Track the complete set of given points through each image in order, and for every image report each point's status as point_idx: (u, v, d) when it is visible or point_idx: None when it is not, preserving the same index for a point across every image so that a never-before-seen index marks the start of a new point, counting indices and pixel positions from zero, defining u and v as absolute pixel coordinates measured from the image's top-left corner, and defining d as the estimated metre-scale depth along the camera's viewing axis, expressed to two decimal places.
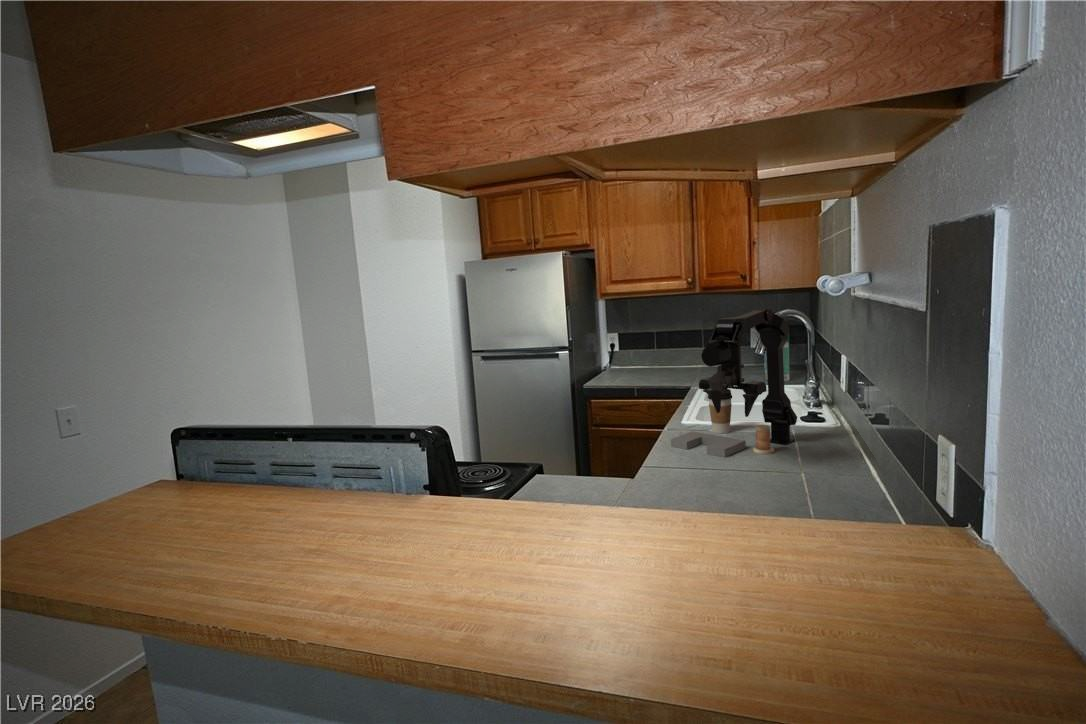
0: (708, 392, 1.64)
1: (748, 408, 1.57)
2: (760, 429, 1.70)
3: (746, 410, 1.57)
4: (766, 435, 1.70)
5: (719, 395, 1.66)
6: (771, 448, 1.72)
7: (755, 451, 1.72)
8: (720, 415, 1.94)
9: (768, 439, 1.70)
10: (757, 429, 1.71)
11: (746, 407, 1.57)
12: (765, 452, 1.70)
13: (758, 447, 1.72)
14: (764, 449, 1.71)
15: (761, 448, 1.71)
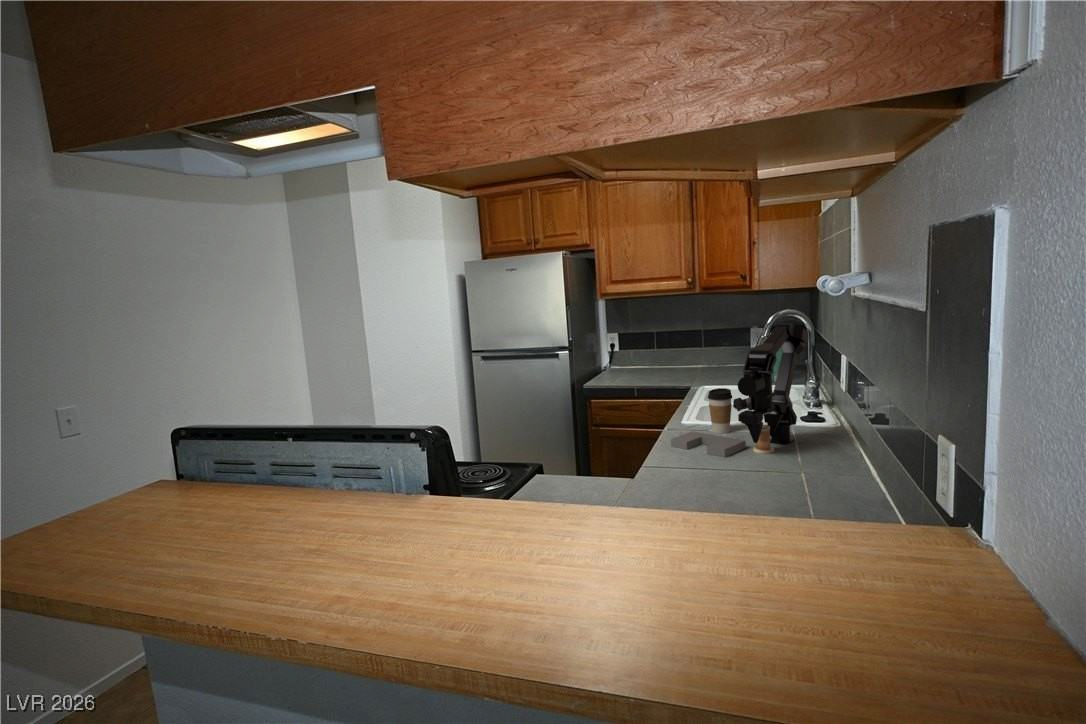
0: None
1: (752, 434, 1.69)
2: None
3: None
4: (766, 435, 1.70)
5: (774, 421, 1.74)
6: (771, 448, 1.72)
7: (755, 451, 1.72)
8: (720, 415, 1.94)
9: (768, 439, 1.70)
10: None
11: None
12: (765, 452, 1.70)
13: (758, 447, 1.72)
14: (764, 449, 1.71)
15: (761, 448, 1.71)
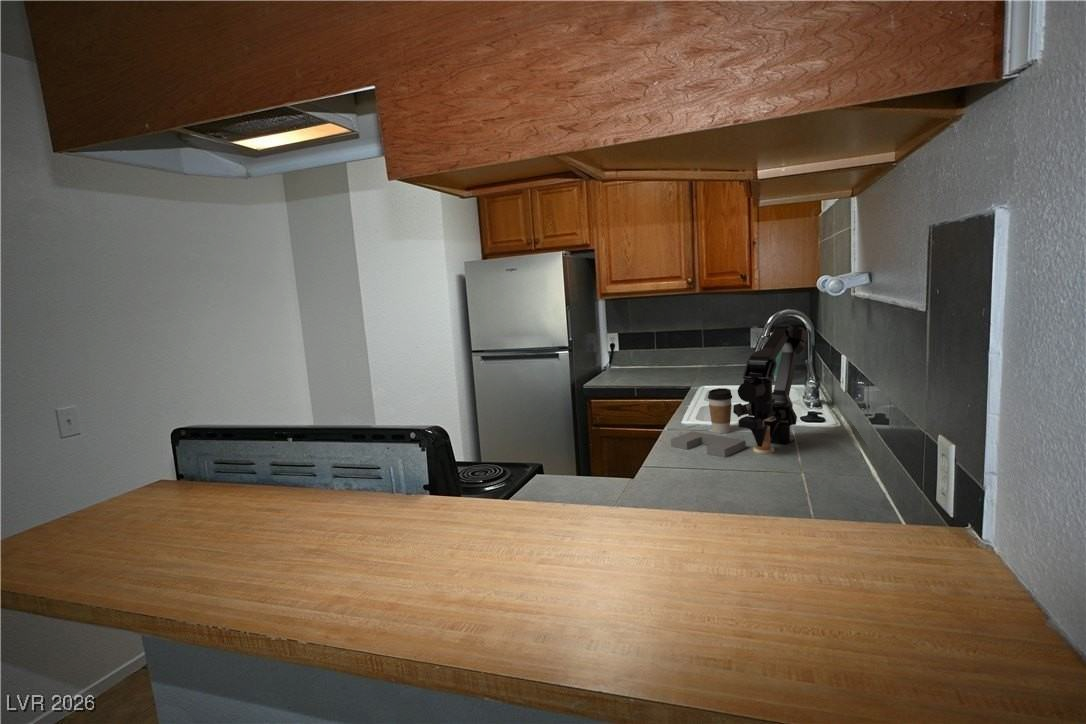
0: None
1: (756, 438, 1.71)
2: None
3: None
4: (766, 435, 1.70)
5: (771, 428, 1.72)
6: (771, 448, 1.72)
7: (755, 451, 1.72)
8: (720, 415, 1.94)
9: (768, 439, 1.70)
10: None
11: None
12: (765, 452, 1.70)
13: (758, 447, 1.72)
14: (764, 449, 1.71)
15: (761, 448, 1.71)
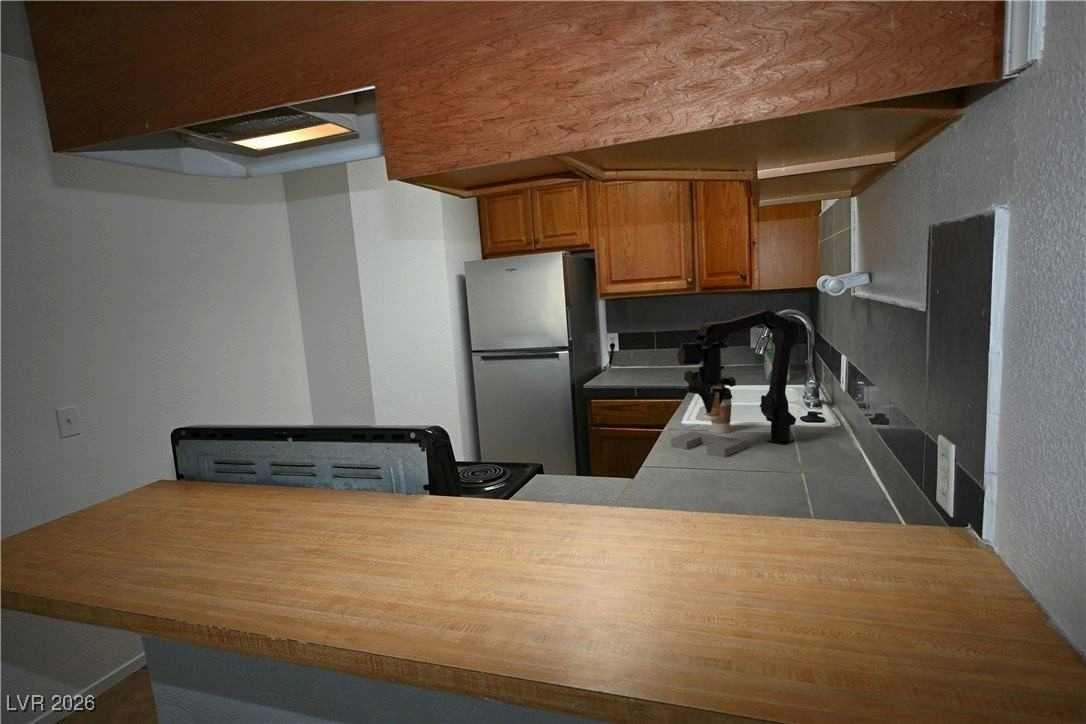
0: None
1: (705, 405, 1.75)
2: None
3: None
4: (715, 402, 1.74)
5: (720, 395, 1.77)
6: (720, 414, 1.76)
7: (704, 417, 1.76)
8: None
9: (717, 405, 1.75)
10: None
11: None
12: (713, 417, 1.74)
13: (707, 413, 1.76)
14: (713, 415, 1.75)
15: (710, 414, 1.75)
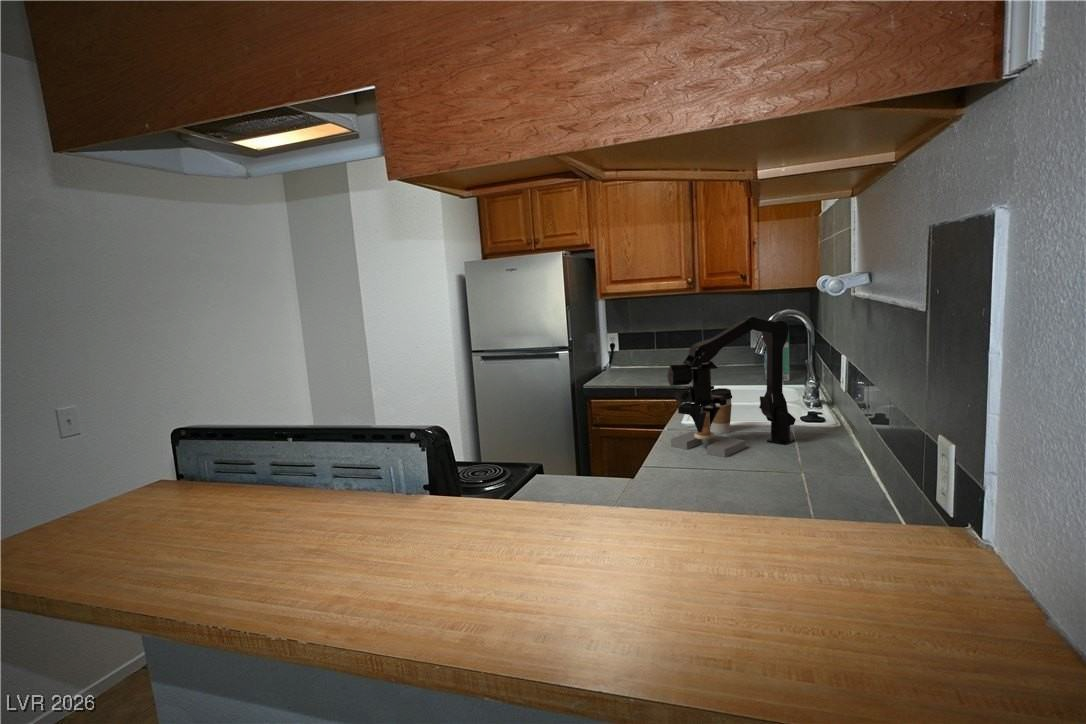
0: None
1: (696, 424, 1.77)
2: None
3: None
4: (705, 421, 1.77)
5: (711, 414, 1.79)
6: (711, 433, 1.78)
7: (696, 436, 1.78)
8: (720, 415, 1.94)
9: (708, 425, 1.77)
10: None
11: None
12: (704, 437, 1.76)
13: (698, 432, 1.78)
14: (704, 434, 1.77)
15: (701, 433, 1.78)
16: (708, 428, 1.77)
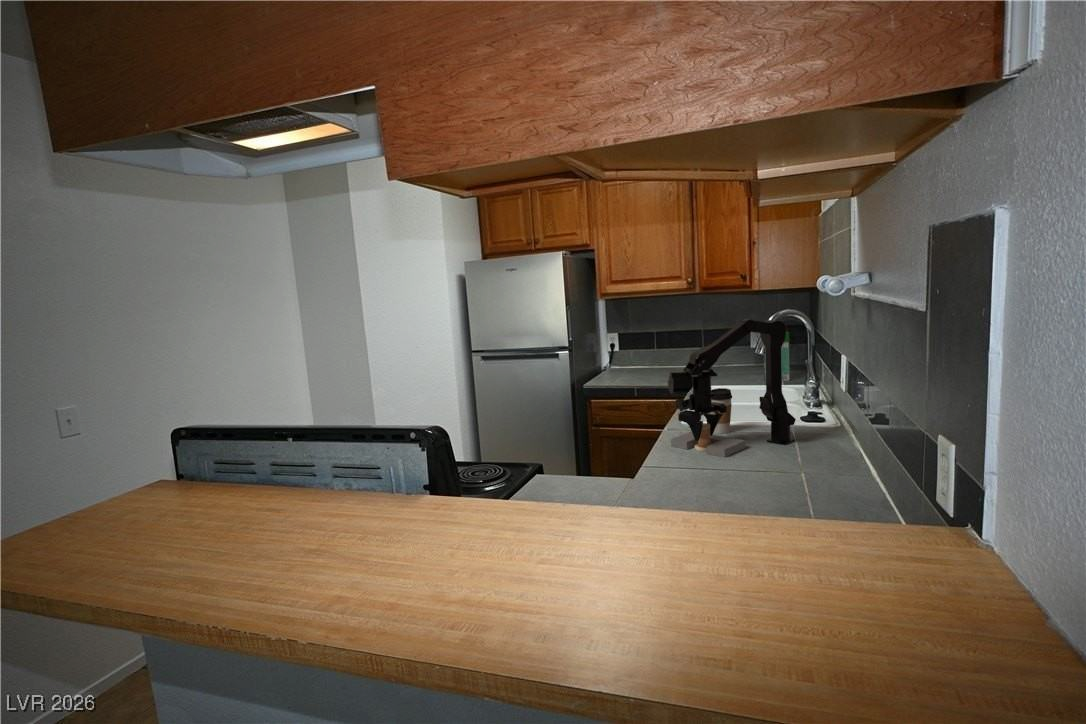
0: None
1: (693, 433, 1.77)
2: None
3: None
4: (706, 433, 1.77)
5: (713, 421, 1.80)
6: None
7: (696, 448, 1.79)
8: None
9: (708, 437, 1.78)
10: None
11: None
12: (704, 449, 1.77)
13: (699, 444, 1.79)
14: (704, 446, 1.78)
15: (701, 445, 1.78)
16: (708, 440, 1.78)
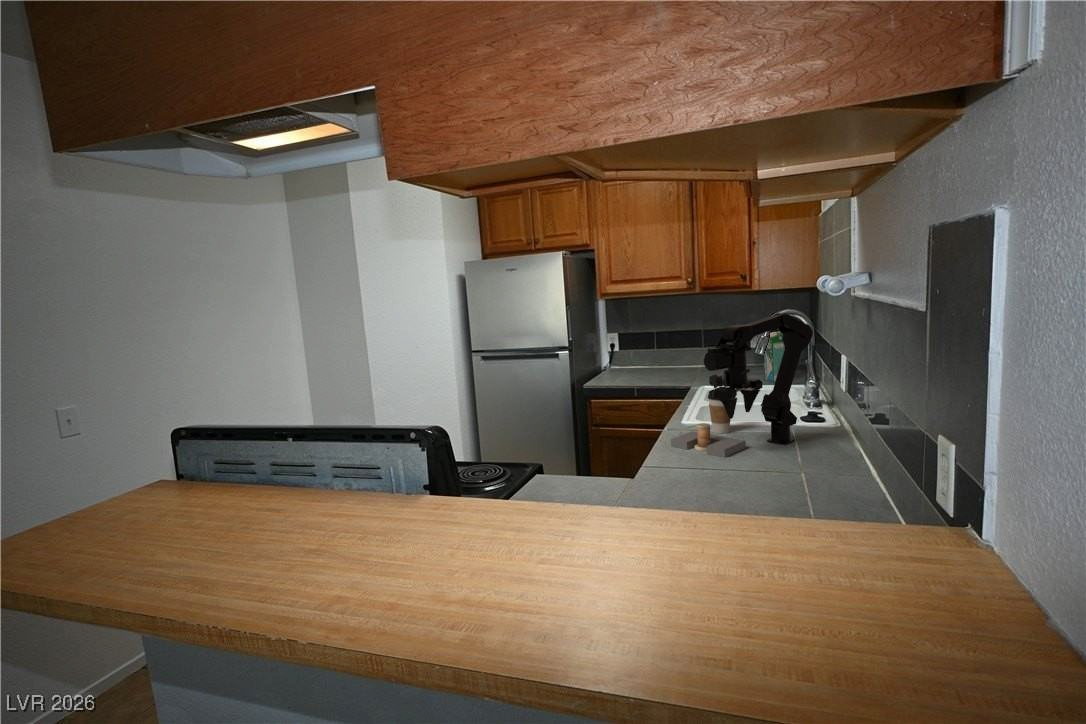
0: None
1: (727, 410, 1.71)
2: (700, 427, 1.77)
3: None
4: (706, 433, 1.77)
5: (751, 397, 1.76)
6: None
7: (696, 448, 1.79)
8: (720, 415, 1.94)
9: (708, 437, 1.78)
10: (698, 427, 1.78)
11: None
12: (704, 449, 1.77)
13: (699, 444, 1.79)
14: (704, 446, 1.78)
15: (701, 445, 1.78)
16: (708, 440, 1.78)
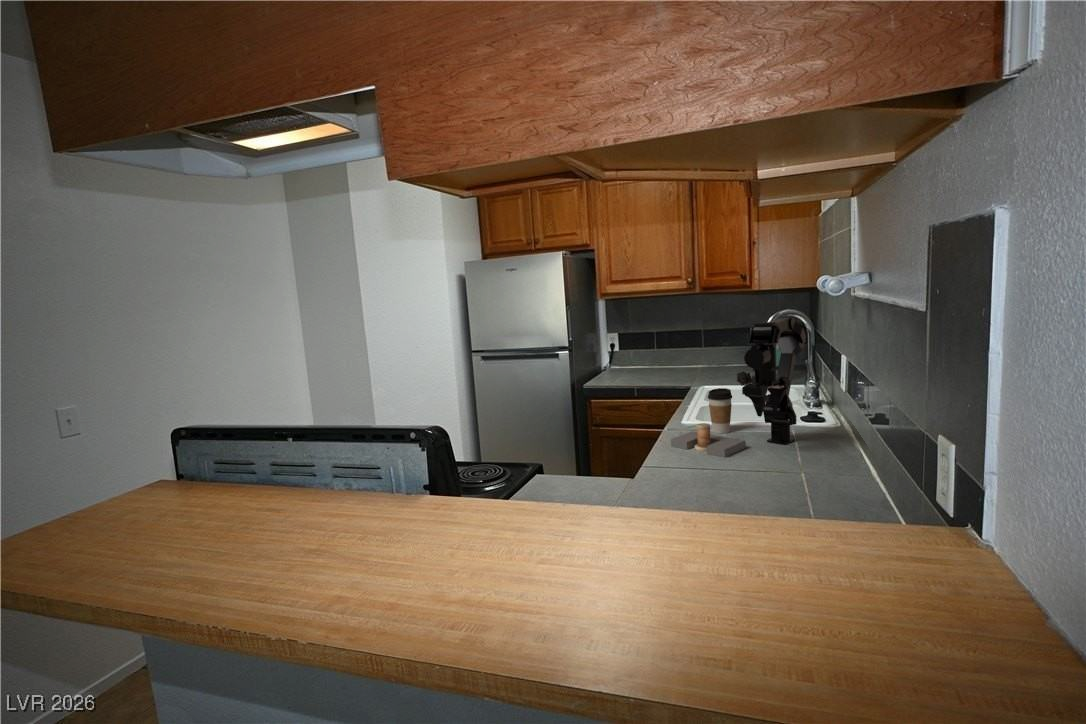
0: None
1: (756, 408, 1.68)
2: (700, 427, 1.77)
3: None
4: (706, 433, 1.77)
5: (778, 395, 1.72)
6: None
7: (696, 448, 1.79)
8: (720, 415, 1.94)
9: (708, 437, 1.78)
10: (698, 427, 1.78)
11: None
12: (704, 449, 1.77)
13: (699, 444, 1.79)
14: (704, 446, 1.78)
15: (701, 445, 1.78)
16: (708, 440, 1.78)
